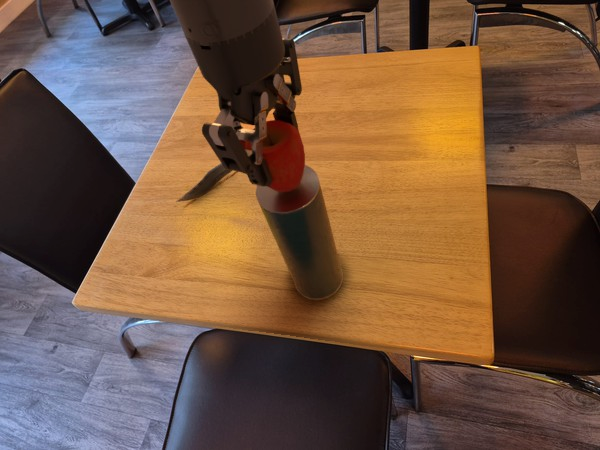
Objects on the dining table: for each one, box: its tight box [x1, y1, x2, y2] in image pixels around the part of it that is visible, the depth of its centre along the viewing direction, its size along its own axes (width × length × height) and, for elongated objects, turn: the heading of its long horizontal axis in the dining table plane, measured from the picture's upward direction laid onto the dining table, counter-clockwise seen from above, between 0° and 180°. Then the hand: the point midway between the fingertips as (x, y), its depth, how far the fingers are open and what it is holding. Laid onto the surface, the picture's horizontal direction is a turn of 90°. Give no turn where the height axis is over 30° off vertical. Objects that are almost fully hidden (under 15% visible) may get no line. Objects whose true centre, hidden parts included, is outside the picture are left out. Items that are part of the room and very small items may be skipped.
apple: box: [245, 119, 306, 192], centre depth 48 cm, size 6×6×8 cm
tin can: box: [255, 164, 344, 301], centre depth 60 cm, size 8×8×22 cm
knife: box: [175, 162, 234, 203], centre depth 84 cm, size 25×1×5 cm, turn 126°
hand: (277, 159), depth 48 cm, fingers closed on apple, 6 cm apart
